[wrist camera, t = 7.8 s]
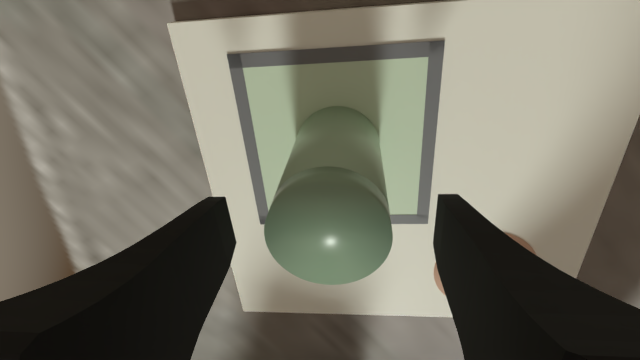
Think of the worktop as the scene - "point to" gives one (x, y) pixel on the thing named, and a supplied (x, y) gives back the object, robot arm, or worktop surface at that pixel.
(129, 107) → the worktop surface
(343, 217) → the sage marker
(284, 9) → the worktop surface
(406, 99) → the picture board
